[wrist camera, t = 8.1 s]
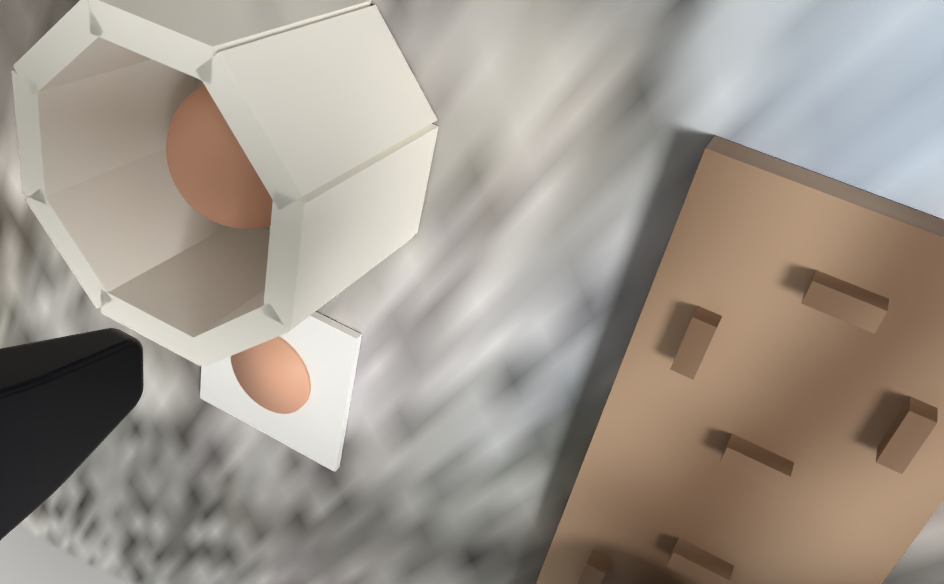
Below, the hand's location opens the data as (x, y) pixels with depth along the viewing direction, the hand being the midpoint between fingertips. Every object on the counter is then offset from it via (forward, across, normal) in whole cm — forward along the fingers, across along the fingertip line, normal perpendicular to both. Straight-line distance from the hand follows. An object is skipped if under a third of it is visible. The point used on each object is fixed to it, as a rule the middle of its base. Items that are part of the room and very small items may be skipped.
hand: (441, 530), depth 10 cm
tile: (+13, +11, +12) cm, 21 cm away
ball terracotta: (+10, +11, +3) cm, 15 cm away
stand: (+13, -4, +8) cm, 16 cm away
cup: (+13, +11, +3) cm, 17 cm away
